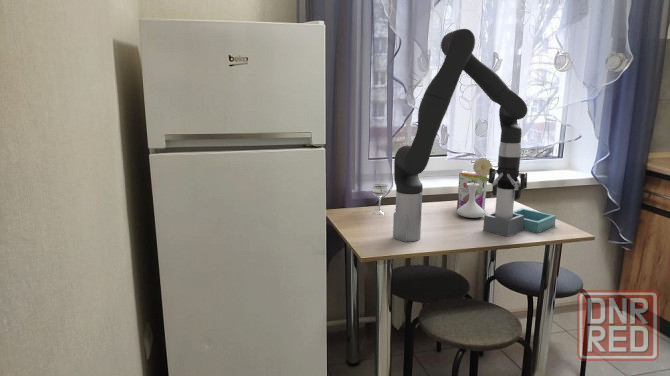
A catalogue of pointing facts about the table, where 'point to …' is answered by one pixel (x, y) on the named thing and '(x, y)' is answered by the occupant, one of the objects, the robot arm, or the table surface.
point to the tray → (536, 220)
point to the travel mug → (505, 200)
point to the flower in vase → (471, 206)
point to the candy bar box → (464, 190)
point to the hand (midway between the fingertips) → (505, 197)
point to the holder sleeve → (503, 224)
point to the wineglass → (379, 193)
